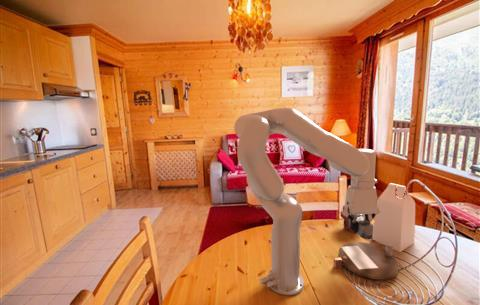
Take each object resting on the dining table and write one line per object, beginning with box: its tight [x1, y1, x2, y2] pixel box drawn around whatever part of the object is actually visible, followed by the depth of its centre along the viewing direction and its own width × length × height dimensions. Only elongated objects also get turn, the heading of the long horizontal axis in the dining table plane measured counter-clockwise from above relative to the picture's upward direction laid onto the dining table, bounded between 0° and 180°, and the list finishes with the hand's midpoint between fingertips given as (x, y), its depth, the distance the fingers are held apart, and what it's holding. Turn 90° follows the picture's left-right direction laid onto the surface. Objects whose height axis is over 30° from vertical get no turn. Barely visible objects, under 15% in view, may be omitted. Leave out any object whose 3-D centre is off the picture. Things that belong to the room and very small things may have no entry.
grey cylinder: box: [349, 214, 374, 240], centre depth 90 cm, size 4×12×4 cm, turn 3°
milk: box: [371, 182, 416, 253], centre depth 106 cm, size 12×12×26 cm
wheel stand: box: [333, 256, 343, 270], centre depth 92 cm, size 15×8×4 cm, turn 116°
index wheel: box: [338, 241, 399, 280], centre depth 92 cm, size 20×20×6 cm
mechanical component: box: [340, 204, 364, 234], centre depth 118 cm, size 12×10×10 cm
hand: (359, 230), depth 91 cm, fingers closed on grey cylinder, 4 cm apart
